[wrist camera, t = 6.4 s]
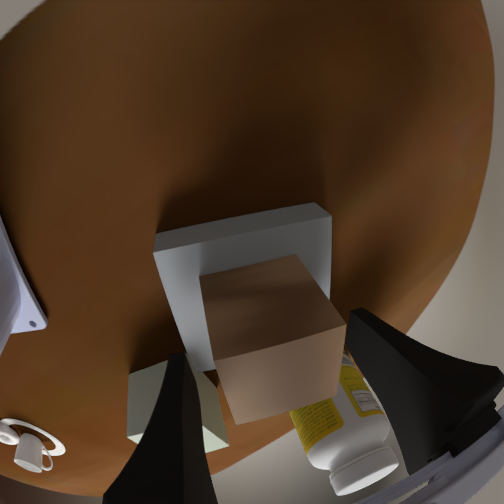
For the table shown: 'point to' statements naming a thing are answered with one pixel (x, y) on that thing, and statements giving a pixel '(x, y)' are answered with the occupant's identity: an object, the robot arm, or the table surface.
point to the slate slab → (236, 260)
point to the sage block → (145, 396)
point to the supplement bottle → (347, 434)
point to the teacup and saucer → (28, 445)
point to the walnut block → (272, 337)
